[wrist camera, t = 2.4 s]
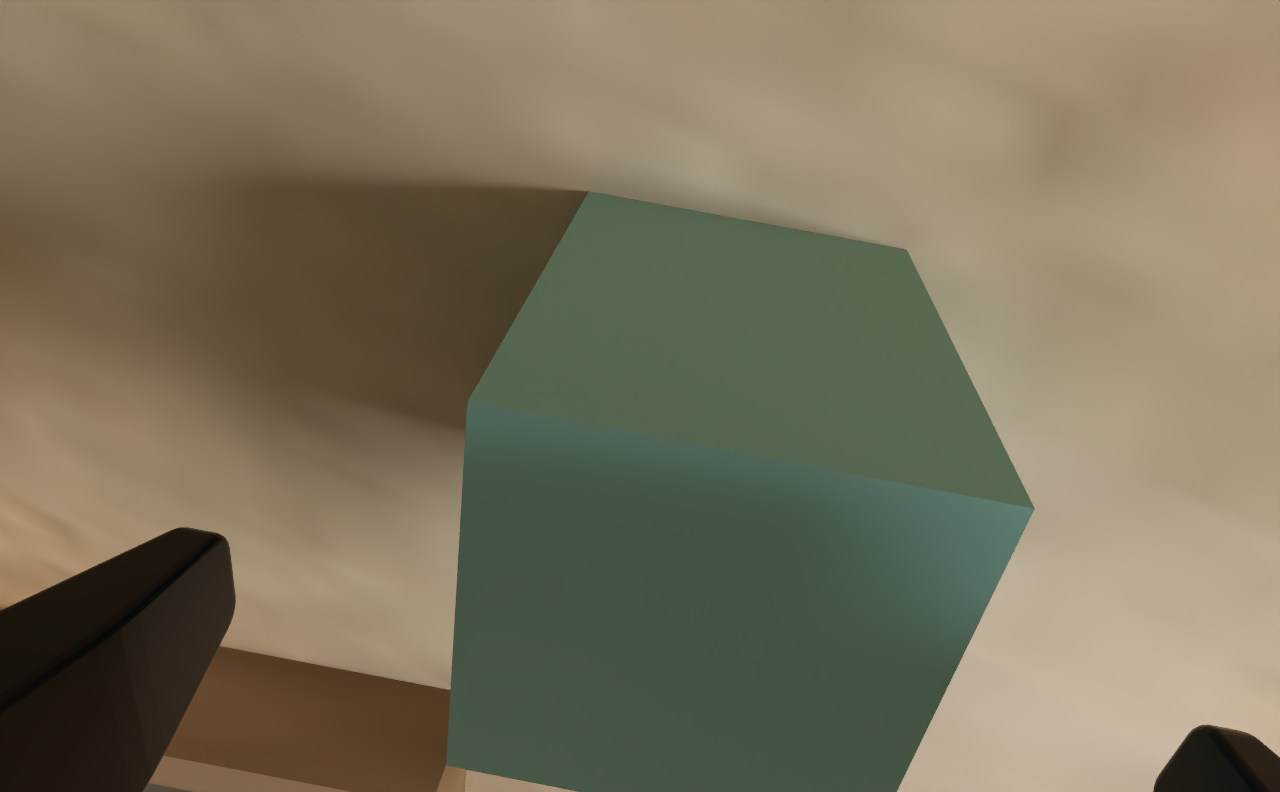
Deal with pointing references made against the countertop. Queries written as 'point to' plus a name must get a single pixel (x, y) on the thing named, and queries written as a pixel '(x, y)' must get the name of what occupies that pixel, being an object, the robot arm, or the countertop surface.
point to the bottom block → (308, 731)
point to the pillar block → (720, 514)
